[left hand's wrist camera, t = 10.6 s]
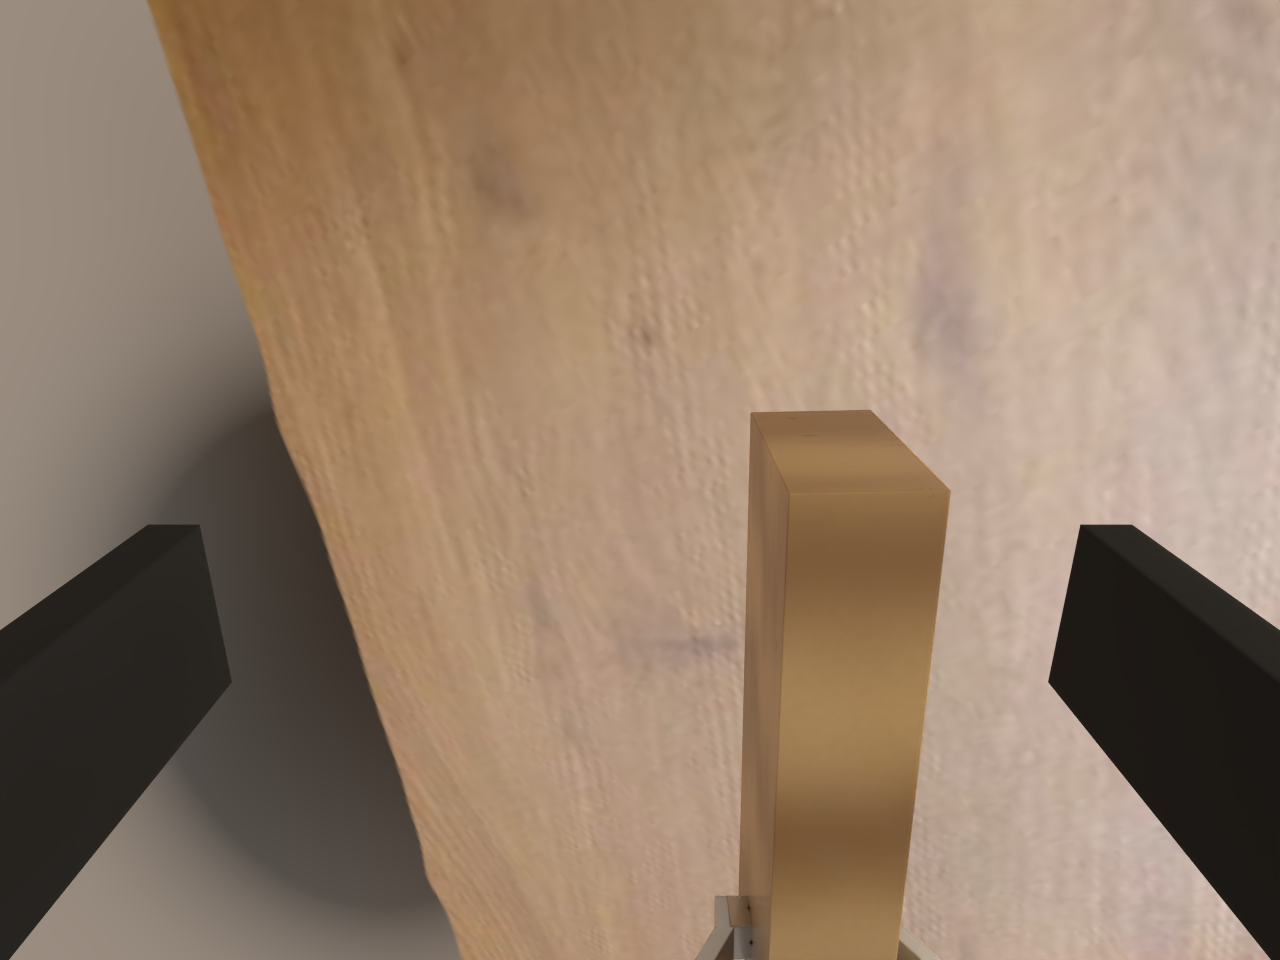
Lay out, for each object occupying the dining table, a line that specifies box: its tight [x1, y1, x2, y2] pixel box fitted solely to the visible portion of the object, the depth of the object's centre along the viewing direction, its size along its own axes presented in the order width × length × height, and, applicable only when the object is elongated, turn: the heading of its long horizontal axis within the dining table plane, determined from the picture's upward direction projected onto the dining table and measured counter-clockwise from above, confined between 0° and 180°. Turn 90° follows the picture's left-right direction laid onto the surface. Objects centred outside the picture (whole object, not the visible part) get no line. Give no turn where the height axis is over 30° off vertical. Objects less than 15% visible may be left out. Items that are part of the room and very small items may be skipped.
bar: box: [739, 410, 951, 960], centre depth 30 cm, size 24×4×8 cm, turn 1°
